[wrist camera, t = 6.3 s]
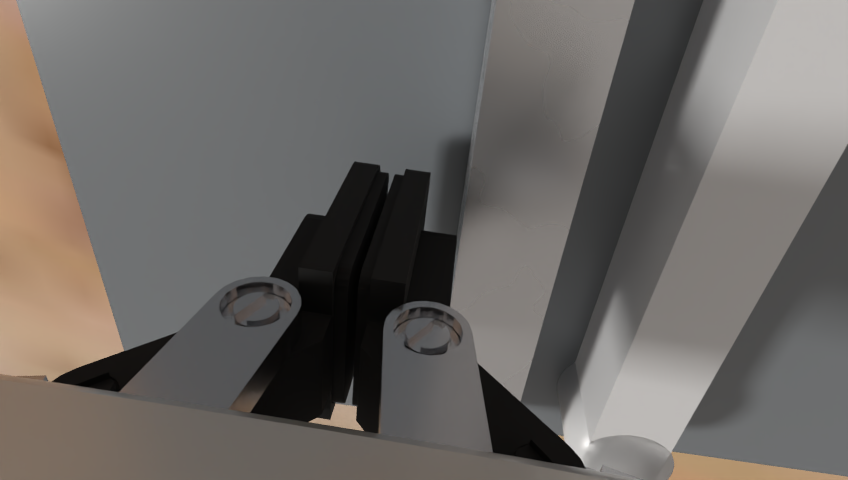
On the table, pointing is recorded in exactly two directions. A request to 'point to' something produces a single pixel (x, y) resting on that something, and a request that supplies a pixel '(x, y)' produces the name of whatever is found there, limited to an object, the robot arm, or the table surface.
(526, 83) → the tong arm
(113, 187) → the board
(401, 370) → the robot arm
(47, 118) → the table surface
